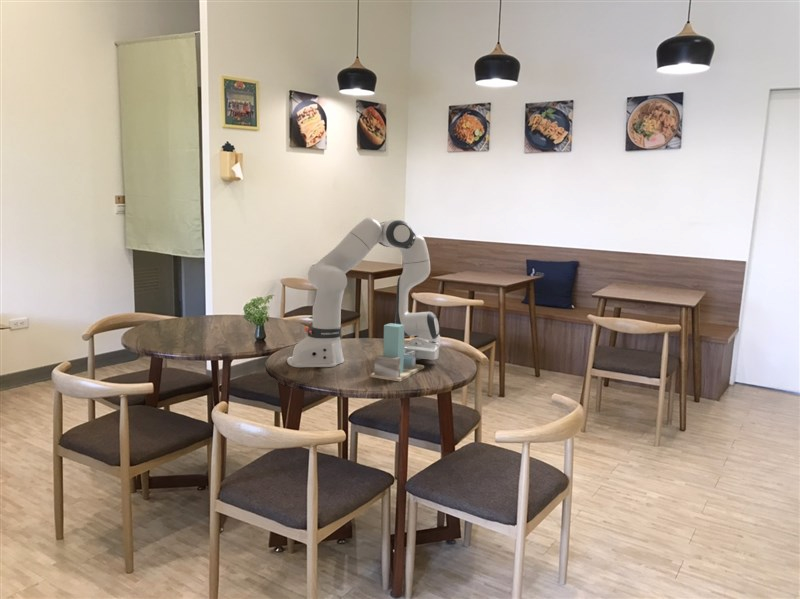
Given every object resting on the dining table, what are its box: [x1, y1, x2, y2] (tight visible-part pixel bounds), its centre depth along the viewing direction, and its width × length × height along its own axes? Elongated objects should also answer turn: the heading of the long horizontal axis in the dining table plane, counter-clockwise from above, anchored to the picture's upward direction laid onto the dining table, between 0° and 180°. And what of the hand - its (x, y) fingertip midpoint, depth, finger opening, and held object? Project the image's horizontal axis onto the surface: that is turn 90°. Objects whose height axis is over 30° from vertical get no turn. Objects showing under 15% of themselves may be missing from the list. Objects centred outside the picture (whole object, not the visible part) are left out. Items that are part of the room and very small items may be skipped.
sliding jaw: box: [403, 352, 417, 369], centre depth 246 cm, size 3×9×5 cm, turn 65°
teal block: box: [382, 322, 405, 373], centre depth 237 cm, size 5×6×18 cm
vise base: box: [370, 354, 425, 383], centre depth 242 cm, size 22×12×8 cm, turn 155°
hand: (404, 355), depth 247 cm, fingers closed, pressing on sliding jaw
